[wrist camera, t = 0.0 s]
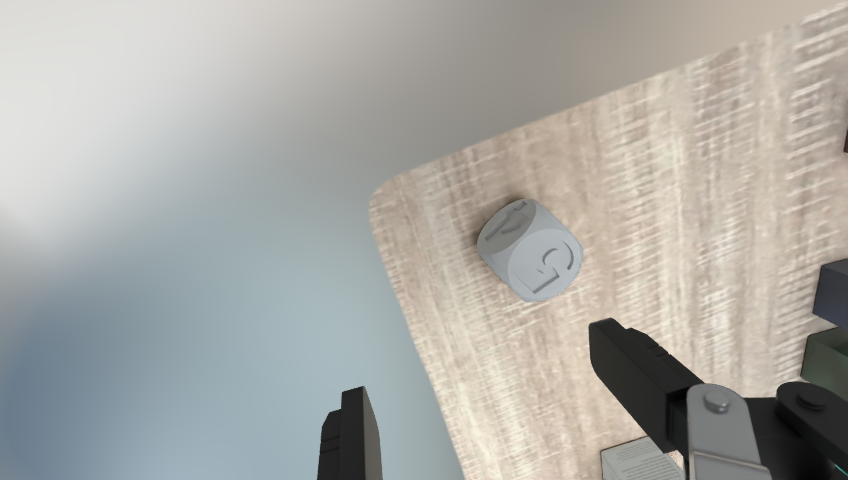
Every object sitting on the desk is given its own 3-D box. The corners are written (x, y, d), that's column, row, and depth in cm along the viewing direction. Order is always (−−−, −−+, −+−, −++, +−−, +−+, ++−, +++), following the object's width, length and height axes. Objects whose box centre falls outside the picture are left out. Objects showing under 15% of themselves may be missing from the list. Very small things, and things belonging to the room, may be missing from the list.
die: (467, 239, 29) (489, 268, 24) (519, 189, 28) (551, 209, 23) (510, 281, 31) (538, 315, 26) (559, 235, 30) (597, 262, 25)
